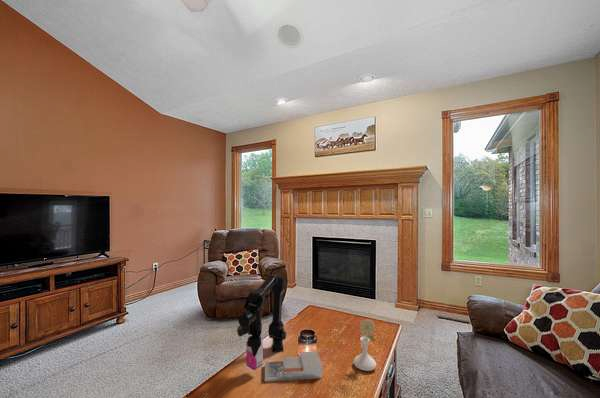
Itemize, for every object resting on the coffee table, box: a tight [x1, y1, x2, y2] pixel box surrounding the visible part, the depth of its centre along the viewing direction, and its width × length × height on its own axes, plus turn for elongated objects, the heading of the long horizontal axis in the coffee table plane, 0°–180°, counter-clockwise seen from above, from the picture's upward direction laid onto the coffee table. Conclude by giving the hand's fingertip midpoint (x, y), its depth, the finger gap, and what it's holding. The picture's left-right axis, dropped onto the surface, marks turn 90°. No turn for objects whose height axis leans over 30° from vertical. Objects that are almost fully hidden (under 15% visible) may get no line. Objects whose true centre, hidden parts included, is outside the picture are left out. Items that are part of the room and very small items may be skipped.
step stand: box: [264, 351, 323, 383], centre depth 129 cm, size 12×27×6 cm, turn 97°
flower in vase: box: [353, 318, 377, 372], centre depth 134 cm, size 13×11×25 cm
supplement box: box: [245, 339, 264, 371], centre depth 127 cm, size 6×6×12 cm
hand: (254, 351), depth 127 cm, fingers closed on supplement box, 8 cm apart
